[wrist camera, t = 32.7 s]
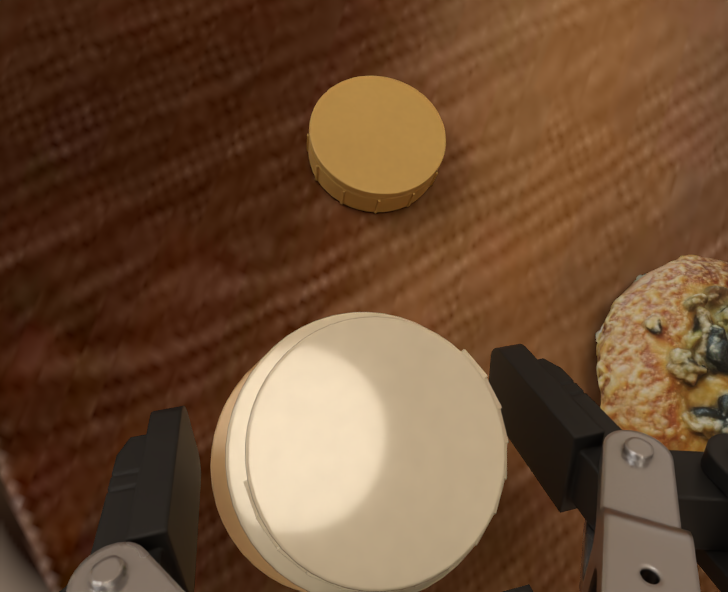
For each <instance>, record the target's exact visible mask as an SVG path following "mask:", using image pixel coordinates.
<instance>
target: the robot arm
mask: <svg viewBox="0 0 728 592" xmlns="http://www.w3.org/2000/svg"><path fill="white" fill-rule="evenodd" d="M489 383H490V385H491V387H492V389H493V391H494V393H495V395H496V397H497V399H498V401H499V403H500V404H501V406H502V408H501V413H502V417H503V421H504V425H505V429H506V433H507V436H508V438H509V439H510V441H511V442H512V443H513V445H514V446H515V448H516V449H517V451H518V452H519V454H520V455H521V457H522V458H523V459H524V461H525V462H526V464H527V465H528V467H529V468H530V470H531V471H532V472H533V474H534V475H535V477H536V478H537V480H538V481H539V483H540V484H541V486H542V487H543V488H544V490H545V491H546V493H547V494H548V496H549V497H550V499H551V500H552V501H553V503H554V504H555V506H556V507H557V509H558V510H559V512H560V513H561V512H565V511H569V510H572V509H576V508H578V510H579V511H580V513H581V514H582V515H583V517H584V518H585V523H584V530H583V543H582V557H581V570H580V583H579V592H700V584H699V577H698V569H697V563H698V564H699V566H700V567H701V568H702V569H703V570H704V572H705V573H706V574H707V575H708V577H709V578H710V579H711V580H712V582H713V583H714V584H715V585H716V586H717V588H718V589H719V590H720V591H721V592H728V433H722V434H717V435H714V436H712V437H711V438H710V439H709V440H708V442H707V445H706V447H705V450H704V452H700V451H679V450H668V449H667V448H666V447H665V446H664V445H663V444H662V443H661V442H660V441H658V440H657V439H655V438H653V437H651V436H649V435H647V434H644V433H641V432H638V431H632V430H622V429H621V428H620V427H619V426H618V425H617V424H616V423H615V422H614V421H613V420H612V419H611V418H610V417H609V416H608V415H607V414H606V413H605V412H604V411H603V410H602V409H601V408H600V407H599V406H598V405H597V404H596V403H595V402H594V401H593V400H592V399H591V398H590V397H589V396H588V395H587V394H586V393H585V394H584V392H583V390H582V389H581V388H580V387H579V386H578V385H577V384H576V383H574V382H573V380H572V379H571V378H570V377H569V376H568V375H567V374H566V373H565V372H564V371H563V370H562V369H561V368H560V367H558V366H556V365H554V364H553V363H551V362H549V361H547V360H545V359H538V360H537V359H536V358H535V356H534V355H533V354H532V353H531V352H530V351H529V350H528V349H527V348H526V347H525V346H524V345H522V344H516V345H511V346H505V347H500V348H495V349H493V351H492V353H491V362H490V374H489ZM200 486H201V466H200V458H199V453H198V449H197V446H196V442H195V438H194V435H193V431H192V427H191V424H190V420H189V416H188V413H187V410H186V407H185V406H180V407H174V408H169V409H163V410H158V411H153V412H152V413H151V415H150V419H149V424H148V429H147V434H146V435H141V436H136V437H131V438H130V439H129V440H128V441H127V443H126V444H125V445H124V447H123V448H122V449H121V451H120V452H119V453H118V455H117V457H116V460H115V464H114V468H113V472H112V478H111V479H110V483H109V487H108V493H107V495H106V498H105V502H104V506H103V510H102V514H101V518H100V521H99V525H98V529H97V533H96V537H95V540H94V544H93V548H92V552H91V554H90V556H89V557H88V558H86V559H85V560H84V561H83V562H82V563H81V564H80V565H79V566H78V568H77V569H76V570H75V571H74V573H73V575H72V576H71V578H70V580H69V583H68V585H67V586H66V587H65V588H64V589H62V590H61V591H59V592H194V585H195V568H196V552H197V535H198V519H199V503H200ZM503 592H533V590H532V588H531V587H530V585H525V586H521V587H518V588H514V589H511V590H507V591H503Z"/></svg>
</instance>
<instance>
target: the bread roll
mask: <svg viewBox="0 0 728 592" xmlns="http://www.w3.org/2000/svg"><path fill="white" fill-rule="evenodd" d="M595 335H596V342H597V343H598V344H597V347H596V356H597V357H598V361H597V367H596V370H597V377H598V384H599V388H600V392H601V405H600V408H601V409H602V410H603V411H604V412H605V413H606V414H607V415H608V416H609V417H610V418H611V419H612V420H613V421H614V422H615V423H616V424H617V425H618V426H619V427H620V428H621V429H622V430H632V431H638V432H641V433H644V434H647V435H649V436H651V437H653V438H655V439H657V440H658V441H660V442H661V443H662V444H663V445H664V446H665V447H666V448H667V449H668V450H679V451H700V452H704V450H705V447H706V445H707V442H708V440H709V439H710V438H711V437H712V436H714V435H717V434H722V433H728V263H727V262H725V261H721V260H715V259H712V258H703V257H700V256H697V255H687V256H680V257H679V258H678V259H677V260H675V261H671V262H669V263H667V264H666V265H664V266H662V267H659V268H658V269H655V270H653V271H651V272H649V273H647V274H644V275H639V276H638V277H637V279H636V280H635V281H634V283H633V284H632V285H631V286H630V287H629V288H628V289H627V290H626V291H625V292H624V293H623V294H622V295H621V296H619V297H618V298H617V299H616V300H615V301H614V303H613V304H612V306H611V309H610V312H609V314H608V315H607V317H606V319H605V323H604V324H603V325H602V327H601V330H600V331H598V332H597V333H596V334H595Z"/></svg>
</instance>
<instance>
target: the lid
mask: <svg viewBox="0 0 728 592" xmlns="http://www.w3.org/2000/svg"><path fill="white" fill-rule="evenodd" d="M445 148H446V134H445V129H444V125H443V122H442V120H441V118H440V115H439V113H438V112H437V110H436V109H435V107H434V106H433V105H432V103H431V102H430V101H429V100H428V99H427V98H426V97H425V96H424V95H423V94H421V93H420V92H419V91H417V90H416V89H414V88H413V87H411V86H409V85H407V84H405V83H403V82H401V81H398V80H395V79H391V78H387V77H381V76H360V77H355V78H351V79H348V80H345V81H343V82H341V83H338V84H336V85H335V86H333V87H332V88H330V89H329V90H328V91H327V92H326V93H325V94H324V95H323V96H322V97H321V98H320V99H319V101H318V102H317V104H316V105H315V107H314V110H313V112H312V115H311V119H310V126H309V134H307V151H308V153H309V161H310V165H311V168H312V171H313V173H314V175H315V180H316V181H317V180H318V182H319V183H320V184H321V186H322V187H323V188H324V189H325V190H326V191H327V192H328V193H329V194H330V195H331V196H332V197H334V198H335V199H337V200H338V201H340V204H342V203H343V204H345V205H347V206H349V207H352V208H355V209H358V210H362V211H368V212H374V214H377V212H388V211H393V210H397V209H401V208H403V207H405V206H408V207H409V206H410V205H411V203H413V202H415V201H416V200H417V199H418V198H420V197H421V196H422V195H423V194H424V193H425V192H426V190H427V189H428V187H429V186H432V184H433V182H434V180H435V178H436V176H437V174H438V171H437V170H438V168H439V166H440V164H441V162H442V160H443V157H444V154H445Z"/></svg>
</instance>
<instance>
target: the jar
mask: <svg viewBox="0 0 728 592" xmlns="http://www.w3.org/2000/svg"><path fill="white" fill-rule="evenodd" d="M501 408H502V406H501V404H500V403H499V401H498V399H497V397H496V395H495V393H494V391H493V389H492V387H491V385H490V383H489V381H488V379H487V374H486V373H485V372H484V371H483V370H482V368H481V367H480V366H479V365H478V364H477V363H476V362H475V360H474V359H473V358H472V357H471V356H470V355H469V353H468V352H467V351H466V350H465V349H464V350H462V351H460V350H458V349H457V348H456V347H455V346H454V345H453V344H451V343H450V342H449V341H447V340H446V339H444V338H443V337H441V336H440V335H438V334H437V333H435V332H433V331H431V330H429V329H427V328H425V327H423V326H421V325H419V324H417V323H415V322H413V321H410V320H407V319H404V318H401V317H398V316H393V315H389V314H384V313H374V312H349V313H343V314H337V315H332V316H329V317H326V318H322V319H319V320H316V321H314V322H312V323H309V324H307V325H305V326H303V327H301V328H299V329H297V330H296V331H294V332H293V333H291V334H289V335H288V336H286V337H285V338H284V339H282V340H281V341H280V342H279V343H277V344H276V345H275V346H274V347H272V349H271V350H270V351H269V352H268V353H267V354H266V355H265V356H264V357H263V358H262V359H261V360H260V361H259V363H258V364H257V365H256V367H255V368H254V369H253V371H252V372H251V373H250V375H249V376H248V378H247V380H246V382H245V383H244V385H243V387H242V389H241V390H240V393H239V395H238V398H237V400H236V402H235V405H234V407H233V410H232V414H231V418H230V422H229V425H228V431H227V438H226V446H225V469H226V477H227V484H228V489H229V493H230V497H231V501H232V505H233V508H234V510H235V513H236V515H237V517H238V520H239V522H240V525H241V527H242V528H243V530H244V532H245V533H246V535H247V537H248V539H249V540H250V542H251V543H252V545H253V546H254V547H255V549H256V550H257V551H258V552H259V554H260V555H261V556H262V558H263V559H264V560H265V561H266V562H267V563H268V564H269V565H271V566H272V567H273V568H274V569H275V570H276V571H277V572H278V573H279V574H281V575H282V576H283V577H285V578H286V579H288V580H289V581H290V582H292V583H293V584H295V585H296V586H298V587H300V588H302V589H304V590H306V591H308V592H420V591H422V590H424V589H426V588H428V587H430V586H431V585H433V584H434V583H436V582H438V581H439V580H441V579H442V578H444V577H445V576H446V575H447V574H448V573H450V572H451V571H452V570H453V569H454V568H455V567H457V566H458V565H459V564H460V563H461V561H462V560H463V559H464V558H465V557H466V556H467V555H468V554H469V552H470V551H471V550H472V548H473V547H474V546H477V544H478V542H479V540H480V539H481V537H482V535H483V533H484V531H485V530H486V528H487V526H488V524H489V522H490V520H491V519H492V517H493V515H494V514H496V512H497V508H498V504H499V500H500V496H501V492H502V488H503V484H504V481H505V479H507V443H509V442H508V438H507V433H506V429H505V425H504V421H503V417H502V413H501Z"/></svg>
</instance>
